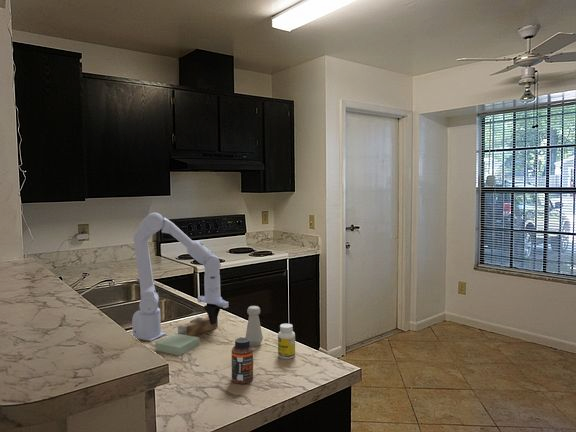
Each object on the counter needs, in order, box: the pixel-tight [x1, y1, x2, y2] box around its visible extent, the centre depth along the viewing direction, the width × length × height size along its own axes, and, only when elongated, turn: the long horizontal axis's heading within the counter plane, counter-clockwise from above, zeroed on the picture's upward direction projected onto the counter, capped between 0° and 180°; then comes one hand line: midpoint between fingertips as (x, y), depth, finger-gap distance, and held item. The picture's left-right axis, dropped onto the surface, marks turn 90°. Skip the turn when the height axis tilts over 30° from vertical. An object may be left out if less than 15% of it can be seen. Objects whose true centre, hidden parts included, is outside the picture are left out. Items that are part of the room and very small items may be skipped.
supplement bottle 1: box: [231, 337, 254, 385], centre depth 119 cm, size 6×6×11 cm
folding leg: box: [177, 316, 219, 337], centre depth 157 cm, size 17×3×4 cm, turn 141°
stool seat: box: [155, 332, 200, 356], centre depth 144 cm, size 10×10×2 cm
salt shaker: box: [244, 305, 264, 348], centre depth 145 cm, size 6×6×13 cm
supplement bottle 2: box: [277, 323, 296, 360], centre depth 136 cm, size 5×5×10 cm
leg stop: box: [189, 317, 203, 323], centre depth 164 cm, size 2×5×3 cm, turn 155°
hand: (213, 323), depth 160 cm, fingers closed
